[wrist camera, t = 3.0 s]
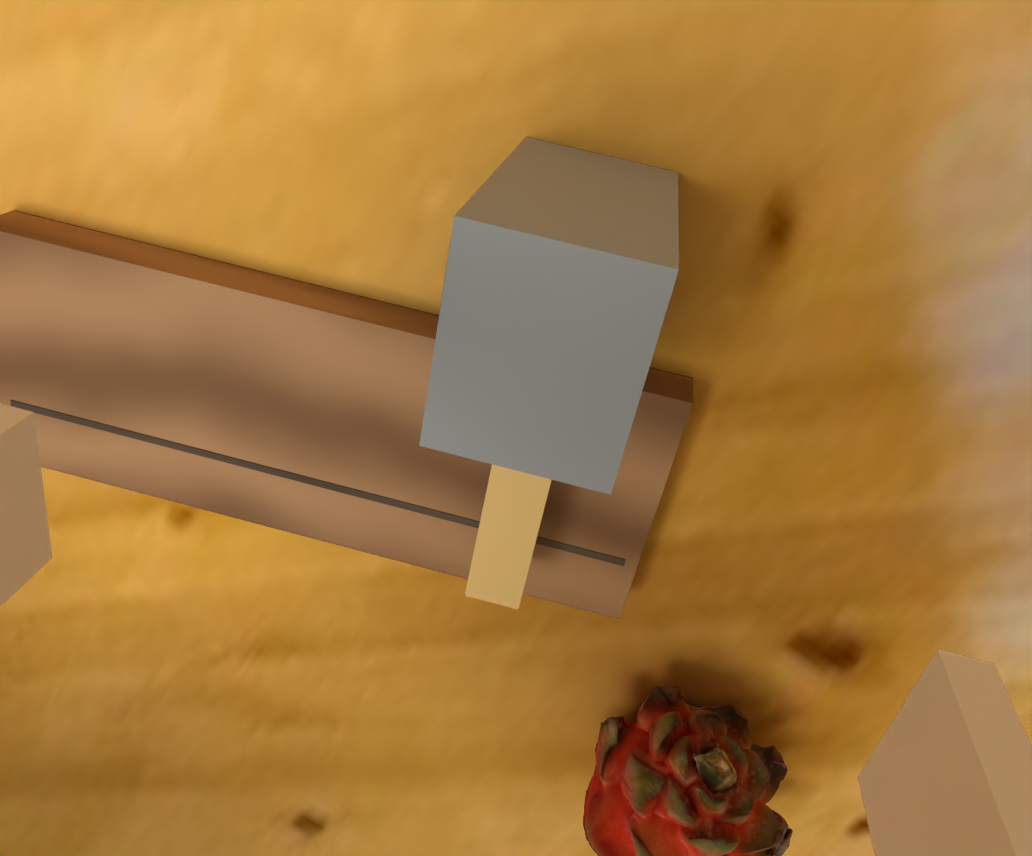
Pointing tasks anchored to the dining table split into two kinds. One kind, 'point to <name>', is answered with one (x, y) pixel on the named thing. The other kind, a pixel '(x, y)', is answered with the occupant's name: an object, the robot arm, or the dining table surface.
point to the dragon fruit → (683, 784)
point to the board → (287, 409)
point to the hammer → (548, 336)
